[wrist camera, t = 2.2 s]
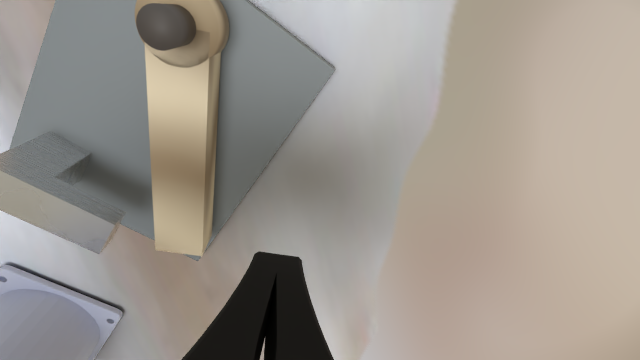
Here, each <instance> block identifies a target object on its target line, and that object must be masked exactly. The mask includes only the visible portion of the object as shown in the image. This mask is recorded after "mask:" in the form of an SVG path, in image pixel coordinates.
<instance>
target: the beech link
mask: <svg viewBox="0 0 640 360" xmlns="http://www.w3.org/2000/svg"><path fill="white" fill-rule="evenodd" d="M135 23H136V27H137V30H138V33H139V36H140V38H141V40H142V41H143V43H144V44H145V62H146V81H147V101H148V120H149V139H150V158H151V177H152V197H153V216H154V235H155V250H158V251H166V252H173V253H181V254H188V255H196V256H203V253H204V251H205V249H206V247H207V245H208V242H209V240H210V238H211V236H212V219H213V199H214V179H215V160H216V140H217V120H218V100H219V80H220V60H221V51H222V50H223V49H224V47H225V45H226V43H227V41H228V37H229V21H228V17H227V14H226V11H225V9H224V7H223V5H222V3H221V2H220V0H137V1H136V5H135Z"/></svg>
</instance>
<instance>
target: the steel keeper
mask: <svg viewBox="0 0 640 360" xmlns="http://www.w3.org/2000/svg"><path fill="white" fill-rule="evenodd" d="M91 154H92V152H90V151H88V150H86V149H84V148H83V147H81V146H79V145H77V144H75V143H73V142H71V141H69V140H68V139H66V138H64V137H62V136H60V135H58V134H56V133H54V132H52V131H49V132H47V133H45V134H43V135H40V136H38V137H36V138H34V139H32V140H30V141H27V142H25V143H23V144H21V145H19V146H16V147H14V148H12V149H10V150H8V151H6V152H3V153H1V154H0V210H1V211H3V212H6V213H8V214H10V215H12V216H15V217H17V218H19V219H21V220H24V221H26V222H28V223H30V224H33V225H35V226H37V227H39V228H42V229H44V230H46V231H48V232H51V233H53V234H55V235H57V236H60V237H62V238H64V239H66V240H69V241H71V242H73V243H75V244H78V245H80V246H82V247H84V248H87V249H89V250H91V251H93V252H96V253H98V254H100V253H101V252H102V250H103V249H104V248H105V247H106V246H107V245H108V244H109V242H110V241H111V240H112V238H113V236H114V234H115V233H116V231H117V229H118V227H119V225H120V223H121V222H122V220H123V218H124V216H125V214H126V212H125V211H123V210H121V209H119V208H117V207H115V206H112V205H110V204H108V203H106V202H104V201H102V200H100V199H98V198H96V197H94V196H92V195H90V194H88V193H86V192H84V191H82V190H80V189H78V188H76V187H74V186H73V185H75V184H76V183H77V182H79V181H80V179H81V177H82V174H83V172H84V170H85V168H86V165H87V163H88V161H89V158H90V156H91Z"/></svg>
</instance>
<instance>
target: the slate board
mask: <svg viewBox="0 0 640 360" xmlns="http://www.w3.org/2000/svg"><path fill="white" fill-rule="evenodd" d="M136 1H137V0H56V1H55V4H54V8H53V11H52V14H51V17H50V21H49V24H48V27H47V30H46V33H45V37H44V40H43V43H42V46H41V49H40V53H39V56H38V59H37V62H36V66H35V69H34V72H33V75H32V78H31V82H30V85H29V88H28V91H27V94H26V98H25V101H24V104H23V107H22V111H21V114H20V117H19V120H18V123H17V127H16V130H15V133H14V136H13V139H12V143H11V146H10V149H12V148H14V147H16V146H19V145H21V144H23V143H25V142H27V141H30V140H32V139H34V138H36V137H38V136H40V135H43V134H45V133H47V132H49V131H52V132H54V133H56V134H58V135H60V136H62V137H64V138H66V139H68V140H69V141H71V142H73V143H75V144H77V145H79V146H81V147H83V148H84V149H86V150H88V151H90V152H92V154H91V156H90V158H89V161H88V163H87V165H86V168H85V170H84V172H83V174H82V177H81V179H80V181H79V182H77V183H76V184H75V185H73V186H74V187H76V188H78V189H80V190H82V191H84V192H86V193H88V194H90V195H92V196H94V197H96V198H98V199H100V200H102V201H104V202H106V203H108V204H110V205H112V206H115V207H117V208H119V209H121V210H123V211H125V212H126V214H125V216H124V218H123V220H122V222H121V223H120V224H121V225H124V226H126V227H128V228H130V229H132V230H134V231H136V232H138V233H140V234H142V235H144V236H146V237H149V238H151V239H153V240H155V235H154V216H153V197H152V177H151V158H150V139H149V120H148V101H147V81H146V62H145V44H144V43H143V41H142V40H141V38H140V36H139V33H138V30H137V27H136V23H135V5H136ZM220 2H221V3H222V5H223V7H224V9H225V11H226V14H227V17H228V21H229V37H228V41H227V43H226V45H225V47H224V49H223V50H222V51H221V60H220V80H219V100H218V120H217V140H216V160H215V179H214V199H213V219H212V236H211V238H210V240H209V242H208V245H207V247H206V249H207V248H208V246H209V245H210V243H211V242H212V241H213V239H214V238H215V237H216V235H217V234H218V232H219V231H220V230H221V228H222V227H223V225H224V224H225V223H226V221H227V220H228V218H229V217H230V216H231V214H232V213H233V211H234V210H235V209H236V207H237V206H238V205H239V203H240V202H241V200H242V199H243V198H244V196H245V195H246V193H247V192H248V191H249V189H250V188H251V186H252V185H253V184H254V182H255V181H256V179H257V178H258V177H259V175H260V174H261V173H262V171H263V170H264V168H265V167H266V166H267V164H268V163H269V161H270V160H271V159H272V157H273V156H274V154H275V153H276V152H277V150H278V149H279V147H280V146H281V145H282V143H283V142H284V140H285V139H286V138H287V136H288V135H289V134H290V132H291V131H292V129H293V128H294V127H295V125H296V124H297V122H298V121H299V120H300V118H301V117H302V115H303V114H304V113H305V111H306V110H307V108H308V107H309V106H310V104H311V103H312V102H313V100H314V99H315V97H316V96H317V95H318V93H319V92H320V90H321V89H322V88H323V86H324V85H325V83H326V82H327V81H328V79H329V78H330V76H331V75H332V74H333V72H334V71H335V68H334V66H332V65H331V64H330V63H328V62H327V61H326V60H325V59H323V58H322V57H321V56H319V55H318V54H317V53H316V52H314V51H313V50H312V49H310V48H309V47H308V46H307V45H305V44H304V43H303V42H301V41H300V40H299V39H297V38H296V37H295V36H294V35H292V34H291V33H290V32H288V31H287V30H286V29H285V28H283V27H282V26H281V25H279V24H278V23H277V22H276V21H274V20H273V19H272V18H270V17H269V16H268V15H267V14H265V13H264V12H263V11H261V10H260V9H259V8H258V7H256V6H255V5H254V4H252V3H251V2H250V1H248V0H220ZM10 149H9V150H10ZM206 249H205V250H206ZM204 252H205V251H204ZM184 255H186V256H188V257H190V258H192V259H194V260H196V261H198V260H199V259H200V257H201V256H196V255H188V254H184Z"/></svg>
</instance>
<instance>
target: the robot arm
mask: <svg viewBox="0 0 640 360" xmlns="http://www.w3.org/2000/svg"><path fill="white" fill-rule="evenodd" d="M122 315H123V313H122V311H121V310H119V309H117V308H115V307H112V306H110V305H107V304H105V303H102V302H100V301H97V300H95V299H92V298H90V297H87V296H85V295H82V294H80V293H77V292H75V291H72V290H70V289H67V288H65V287H63V286H60V285H58V284H55V283H53V282H50V281H48V280H45V279H43V278H40V277H38V276H35V275H33V274H30V273H28V272H25V271H23V270H20V269H18V268H15V267H13V266H10V265H2V266H1V267H0V360H94V359H95V358H96V356H97V354H98V353H99V351H100V350H101V348H102V347H103V345H104V344H105V342H106V340H107V339H108V337H109V336H110V334H111V333H112V331H113V330H114V328H115V327H116V325H117V323H118V322H119V320H120V319H121V317H122ZM264 339H265V350H264V360H334V359H333V357H332V355H331V352H330V350H329V348H328V345H327V343H326V340H325V338H324V336H323V333H322V331H321V328H320V325H319V323H318V320H317V317H316V314H315V311H314V308H313V305H312V302H311V299H310V296H309V293H308V289H307V285H306V281H305V277H304V273H303V267H302V260H301V259H300V258H299V257H294V256H287V255H280V254H272V253H265V252H257V253H256V254H254V257H253V260H252V262H251V264H250V266H249V268H248V270H247V272H246V273H245V275H244V277H243V278H242V280H241V282H240V283H239V285H238V287H237V288H236V290H235V291H234V293H233V294H232V296H231V297H230V299H229V300H228V302H227V303H226V305H225V306H224V307H223V309H222V310H221V311H220V313H219V314H218V315H217V317H216V318H215V319H214V321H213V322H212V323H211V325H210V326H209V327H208V328H207V330H206V331H205V332H204V334H203V335H202V336H201V337H200V339H199V340H198V341H197V342H196V343H195V345H194V346H193V347H192V348H191V349H190V351H189V352H188V353H187V354H186V355H185V356H184V357H183V359H182V360H259V359H260V355H261V351H262V347H263V343H264Z"/></svg>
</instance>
